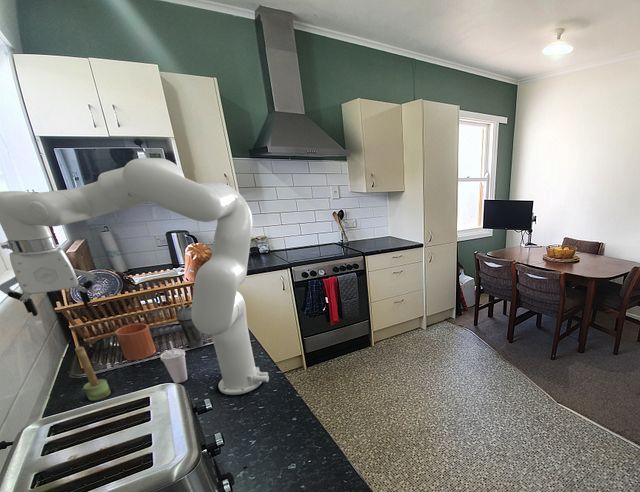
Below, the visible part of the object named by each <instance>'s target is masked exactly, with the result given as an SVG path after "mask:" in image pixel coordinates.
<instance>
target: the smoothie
mask: <svg viewBox="0 0 640 492" xmlns="http://www.w3.org/2000/svg"><path fill="white" fill-rule="evenodd" d="M168 343H169V346H170V349H169V350H166V351H164V352H162V353H161V354H160V356H159V358H160V361H162V362H163V364H164V366H165V369H166V370H167V372H168V374H169V375H170V377H171V379H172V382H173V383H174V384H180V383H184V382H186V381H187V380H188V372H187V371H188V370H187V363H186V357H185V356H186V352H185V351H186V350H184V349H183V348H174V346H173V343H172V341H171V340H169V341H168Z"/></svg>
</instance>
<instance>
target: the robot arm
mask: <svg viewBox="0 0 640 492" xmlns="http://www.w3.org/2000/svg"><path fill="white" fill-rule="evenodd" d="M148 203H152V204H154V205H157V206H159V207H161V208H164V209H166V210H169V211H170V212H173V213H176V214H178V215H181V216H183V217H185V218H188V219H191V220H194V221H197V222H202V223H209V222H214V221H217V224H216V228H215V231H214V236H213V246H212V252H211V257H210V258H209V259H208V260H207V261H206V262H205V263H203V264H202V265H201V266H200V267H199V268H198V270H197V272H196V274H195V277H194V281H193V290H192V291H193V292H192V301H191V307H192V311H191V317H192V321H193V324H194V326H195V327H196V328H197V329H198V330H199V331H200V332H202V334H204V335H207V336H211V338H212V343H213V346H214V351H215V355H216V358H217V362H218V366H219V371H220V374H221V379H220V381H219V382H218V385H217V386H218V387H217V388H218V390H219V391H220V392H221V393H222V394H224V395H229V396H236V395H242V394H243V395H244V394H246V393H249V392H252V391H253V390H255V389H257V388H259V386H260V385H261V384H262V383H268V382H269V381H270V376H269V372H268V371H261V370H260V367H259V366H256V363H255V358H254V353H253V347H252V344H251V338H250V332H249V327H248V319H247V318H248V317H247V306H246V301H245V299H244V297H243V295H242V294H241V293H240V292H239V291H238V289H239V288H240V287H241V285H242V284H243V283H244V282H245V280H246V278H247V274H248V264H249V258H250V249H251V242H252V241H251V240H252V235H253V234H252V233H253V217H252V211H251V209H250V206H249V204H248V202H247V200H245V198H244V197H243V195H242V194H240V192H238V190H236V189H235V188H234V187H232V186H230V185H228V184H226V183H224V182H220V181H207V182H202V183H199V182H196V181H194V180H191V179H189V178H187V177H185V173H184V172H183V170H182V169H181V168H180V167H179V166H178V165H177V164H176V163H175V162H172V161H171V160H169V159H165V158H162V157H138V158H134V159H132V160H130V161H128V162H127V163H126V164H125V165H124V166H123V167H119V168H115V169H111V170H107V171H104V172H101V173H100V174H99V175H98V177H97V180H96V181H94V182H91V183H87V184H84V185H80V186H77V187H73V188H68V189H58V190H49V191H42V192H33V193H32V192H29V191H23V190H21V191H20V190H8V191H7V190H5V191H0V227H1V228H2V232H3V233H4V235H5V237H6V239H7V240H6V241H4V242H0V247H1V249H2V250H3V249H4V250H6V249H7V250H11V252H10V253H9V261H10V264H11V268H12V271H13V274H14V277H13V276H12V278H10V279H7V280H6V281H4V282H2V283H1V284H0V291H1V292H2V293H4V294H5V295H7V296H8V298H9V297H10V298H12V299H14V300H18V301H20V302H21V303H23V305H24V307H25V309H26V311H27V313H28V314H29V313H31V314H32V316H33V317H37V316H38V315H39V311H38V310H37V307H36V305H35V302H34V300H33V299H32V298H31V296H32V295H37V294H43V293H50V292H56V291H64V290H70V289H75V290H77V291H79V295H80V298H81V301H82V304H83V306H84V307H86V308H87V307H89V303H92V302H91V298H90V296H89V294H88V290H89V289H90V288H91V287H92V286H93V284H94V282H95V277H96V274H95V273H94V272H90V271H85V270H81V269H76V268H74V267H73V265H72V263H71V261H70V259H69V257H68V256H67V254H66V253H65V251H64V249H62V247H58V245H57V243H56V241H55V238H54V236H53V234H52V231H51V229H50V227H59V226H64V225H68V224H73V223H76V222H82V221H87V220H90V219H94V218H97V217H99V216H105V215H107V214H110V213H113V212H116V211H120V210H122V211H124V210H129V209H131V208H134V207H138V206H142V205H144V204H148ZM78 276H80V277H84V278H86V281H84V283H83V284H82V283H80V282H79V280H78V279H79V278H78ZM16 284H18V285H19V288H20V289H21V291H22V293H20V292H18V291H15V290H13V289H11V287H13V286H15V285H16Z"/></svg>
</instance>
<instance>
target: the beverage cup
mask: <svg viewBox="0 0 640 492" xmlns="http://www.w3.org/2000/svg"><path fill="white" fill-rule="evenodd" d="M177 297H178V299H179V301H180V304H181V306H182V307H180V308H179V309H178V310H177V313H176V321H177V322H178V324H179V326H180V328H181V330H182V332H183V335H184V338H185V340H186V342H187V344H188V347H189V348H198V347H201V346H203V345H204V338H203V333H202V332H200V331H199V330H198V329H197V328H196V327H195V326H194V324H193V321H192V317H191V311H192V305H184V303H183V300H182V298H181V296H180V295H178V296H177Z"/></svg>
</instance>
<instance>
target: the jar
mask: <svg viewBox="0 0 640 492" xmlns="http://www.w3.org/2000/svg"><path fill="white" fill-rule="evenodd" d="M114 334H115V337H116V339H117V342H118V344H119V347H120V350H121V354H122V355H123V358H124V360H127V361H139V360H143V359H147V358H149V357H151V356H153V355H154V354H156V352H157V349H156V345H155V342H154V338H153V336H152V333H151V330H150V327H149V325H148V324H147V323H141V322H140V323H132V324H128V325H127V324H126V325H124V326H121V327H119V328H117V329H116V330H115V331H114Z"/></svg>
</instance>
